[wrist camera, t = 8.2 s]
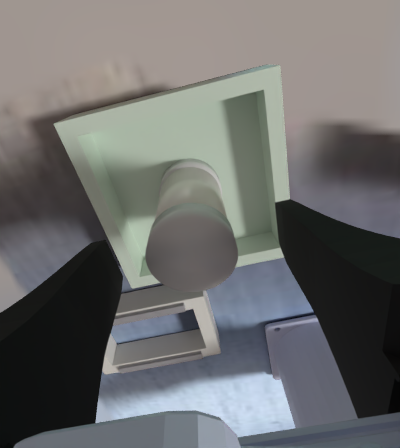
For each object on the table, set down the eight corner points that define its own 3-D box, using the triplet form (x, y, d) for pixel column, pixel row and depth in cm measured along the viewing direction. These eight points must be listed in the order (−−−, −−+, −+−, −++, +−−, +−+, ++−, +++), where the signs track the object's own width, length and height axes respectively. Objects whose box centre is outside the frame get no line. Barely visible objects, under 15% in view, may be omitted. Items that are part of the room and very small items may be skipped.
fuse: (215, 153, 16) (232, 209, 10) (223, 208, 18) (242, 284, 12) (153, 164, 16) (133, 226, 10) (168, 218, 18) (158, 298, 12)
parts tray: (265, 64, 14) (280, 65, 12) (282, 234, 20) (293, 255, 17) (72, 115, 15) (53, 123, 13) (137, 264, 20) (131, 288, 18)
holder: (202, 277, 21) (203, 299, 19) (218, 333, 25) (221, 356, 23) (78, 302, 22) (68, 326, 20) (110, 353, 25) (104, 378, 23)
